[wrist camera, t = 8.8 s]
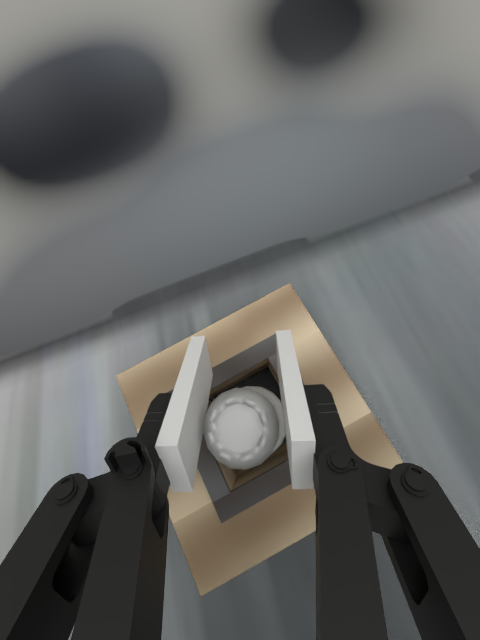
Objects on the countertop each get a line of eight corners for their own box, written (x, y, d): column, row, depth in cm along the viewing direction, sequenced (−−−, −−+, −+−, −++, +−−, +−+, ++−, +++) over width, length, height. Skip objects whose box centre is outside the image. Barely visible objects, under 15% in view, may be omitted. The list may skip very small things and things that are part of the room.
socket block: (373, 454, 22) (414, 476, 16) (218, 542, 22) (199, 600, 16) (284, 307, 26) (289, 281, 20) (150, 379, 25) (113, 375, 19)
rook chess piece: (217, 391, 19) (178, 379, 12) (280, 381, 19) (283, 363, 11) (224, 462, 18) (186, 500, 10) (293, 452, 18) (307, 485, 10)
